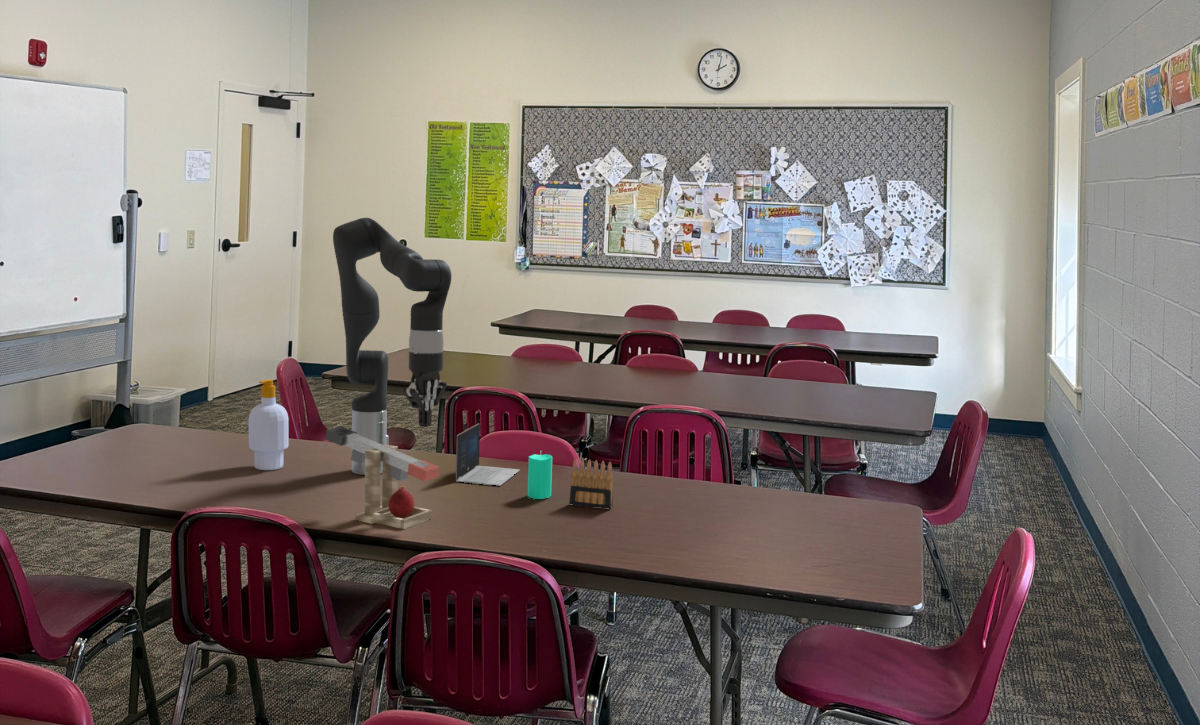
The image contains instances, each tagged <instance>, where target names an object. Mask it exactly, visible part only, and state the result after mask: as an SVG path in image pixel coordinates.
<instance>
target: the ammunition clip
mask: <svg viewBox="0 0 1200 725" xmlns="http://www.w3.org/2000/svg"><path fill="white" fill-rule="evenodd" d="M586 463H587V464H586V469H585V461H584V459H583V458H581V460H580V465H578V459H577V458H576V457H575V458H574V459H573V464H572V471H571V472H572V473H571V479H570V480H571V483H570V489H569V491H570V492H569V504H573V505H580V506H579V507H581V506H588V507H587V508H590V507H601V508H609V509H611V506H612V507H614V505H613V466H612V462H611V461H609V462H608V464H607V468H606V464H605V461H604V460H602V461H601V464H600V468H599V464H598V460H597V459H596V460H595V461H594V463H593V471H592V462H591V459H588V461H587V462H586ZM578 466H579V468H578ZM599 469H600V470H599ZM578 470H579V472H578ZM585 470H586V471H585ZM599 471H600V472H599ZM585 472H586V473H585ZM569 504H568V505H569ZM611 510H612V509H611Z"/></svg>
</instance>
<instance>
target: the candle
mask: <svg viewBox="0 0 1200 725" xmlns="http://www.w3.org/2000/svg"><path fill="white" fill-rule="evenodd" d="M527 469H528V471H527V497H528V496H529V497H530V498H534V499H533V500H535V499H544V498H549V497H550V496H551V497H552V481H553V480H552V478H553V456H552V455H551V454H542V451H540V453H539V454H532V455H529V456H528V468H527ZM529 497H528V498H529ZM530 498H529V499H530Z"/></svg>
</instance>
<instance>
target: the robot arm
mask: <svg viewBox="0 0 1200 725" xmlns="http://www.w3.org/2000/svg"><path fill="white" fill-rule="evenodd" d="M332 242H333V250H334V254H335V259H336V264H337V269H338V275H339V281H340V283H339V284H340V294H341V295H340V296H341V297H340V298H341V308H342V310H341V311H342V318H343V320H342V321H343V325H344V326H343V327H344V335H345V366H346V367H345V368H346V369H345V370H346V375H347V379H348V381H349V383H351V384H353V385H368V386H369V385H370V386H371V385H372V386H373V385H374V389H373V390H371V391H370V392H368V393H366V394H362V395H359V396H357V397H354V398H353V399H352V402H351V430H352V431H355V432H357V434H358V435H360V436H362V437H365V438H367V439H370V440H372V441H375V442H377V443H379V444H382V445H384V446H385V445H390V444H389V443H390V437H389V435H388V434H387V433H388V432H387V429H388V426H387V424H388V420H387V418H388V415H387V414H388V412H387V411H388V406H387V405H388V400H387V399H388V394H387V393H388V376H389V357H388V354H387V352H386V351H384V350H367V349H366V350H364V349H363V350H362V349H360V348H361V346H362V344H363V343H364V341H365V340H366V339H367V337H368V336H369V335H370V334H371V333H372V332H373V330H374V329H375V328H376V326H377V325H378V323H379V320H380V316H381V315H380V300H379V294H378V293H377V291H376V289H375V288H374V286H372V285H371V284H370V283H369V282H368V281H367V280H366V279H364V278H363V277H362V276H361V275H360V274H359V273H358V271H357V262H358V261H360V260H363V259H365V258H368V257H371V256H373V255H375V254H377V253H379V259H380V262H381V264H382V266H383V267H384V270H386V272H387V271H388V272H389V273H390V274H392V275H394V276H395V277H397V278H398V279H399V280H400V282H401V283H402V284H403V286H404V287H405V288H406V289H408V290H410V291H412V292H416V293H417V292H421V293H422V292H423V293H424V292H428V293H427V296H426V298H425V299H424V300H421V301H418V302H416V303H413V304H411V308H410V327H409V328H410V331H409V337H408V339H409V340H408V370H409V371H410V372H411V373H412V375H411V378H410V384H409V386H408V387H404V388H403V393H404V395H405V397H406V399H407V400H408V402H409V404H410V405H411V408H412V409H417V410H418V425H419V427H422V428H427V427H430V426H431V425H432V418H433V417H432V416H433V414H432V412H433V409H434V407H435V406H436V407H437V406H438V405H439V403H440V401H441V400H442V397H443V395H444V392H445V390H446V388H447V386H448V383H447V382H444V381H442V380H441V374H440V372H442V371H443V370H444V334H443V324H444V323H443V319H444V318H443V317H444V316H443V313H444V309H445V305H446V301H447V298H448V294H449V291H450V288H451V283H452V270H451V268H450V266H449V263H447V262H446V261H445V260H444V259H424V258H423V257H422V256H421V254H419V252H417V251H415V250H414V249H412V248H409V247H408V246H407V245H404V244H402V243H400V241H398V240H397V238H395V237H394V236H393V235H392V234H390V233H389V231H388V230H386V229H385V227H383V226H382V225H381V224H380V223H378V222H377V221H376V220H374V219H373V218H370V217H361V218H358V219H355V220H351V221H348V222H346V223H343V224H341V225H338V226H336V227H335V228H334V230H333V233H332ZM352 450H353V449H352V448H351V451H352ZM382 468H383V462H382V461H381V471H380V475H381V474H382ZM351 472H352V473H353V474H355V475H360V476H361V475H362V476H365V462H364V463H357V462H355V461H353V460H351Z"/></svg>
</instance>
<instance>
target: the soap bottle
mask: <svg viewBox="0 0 1200 725" xmlns="http://www.w3.org/2000/svg"><path fill="white" fill-rule="evenodd" d="M258 383H259V384H263V385H261V386H260V387H261V390H260V391H261V392H260V393H261V403H259V404H256V406H254V407H253V408H252V409H251V410H250V412H249V416H248V449H250V451H253V456H254V457H253V466H254V468H255V469H257V470H258V471H259V470H260V471H274V470H275V471H276V470H279V469H280V470H281V469H282V468H283V467H284V450H286V449H288V447H290V446H289V414H288V412H287V410H286V408H285V407H284V406H282V405H281V404H278V403H277V402H276V385H274V379H264V380H261V381H260V380H259V381H258Z"/></svg>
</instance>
